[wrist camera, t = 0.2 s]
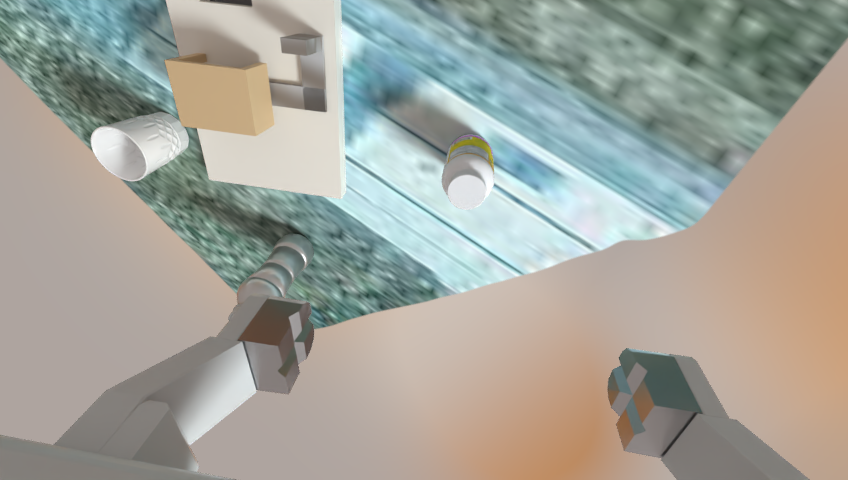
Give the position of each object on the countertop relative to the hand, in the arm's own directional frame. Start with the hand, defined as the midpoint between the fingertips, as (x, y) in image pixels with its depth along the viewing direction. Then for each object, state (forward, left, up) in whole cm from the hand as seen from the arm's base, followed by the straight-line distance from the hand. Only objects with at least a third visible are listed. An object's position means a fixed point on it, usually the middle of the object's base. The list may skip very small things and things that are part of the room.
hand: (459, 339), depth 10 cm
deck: (+6, -30, -47) cm, 56 cm away
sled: (+4, -27, -45) cm, 53 cm away
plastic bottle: (+33, -28, -48) cm, 64 cm away
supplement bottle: (+12, 0, -48) cm, 49 cm away
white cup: (+15, -48, -48) cm, 69 cm away
